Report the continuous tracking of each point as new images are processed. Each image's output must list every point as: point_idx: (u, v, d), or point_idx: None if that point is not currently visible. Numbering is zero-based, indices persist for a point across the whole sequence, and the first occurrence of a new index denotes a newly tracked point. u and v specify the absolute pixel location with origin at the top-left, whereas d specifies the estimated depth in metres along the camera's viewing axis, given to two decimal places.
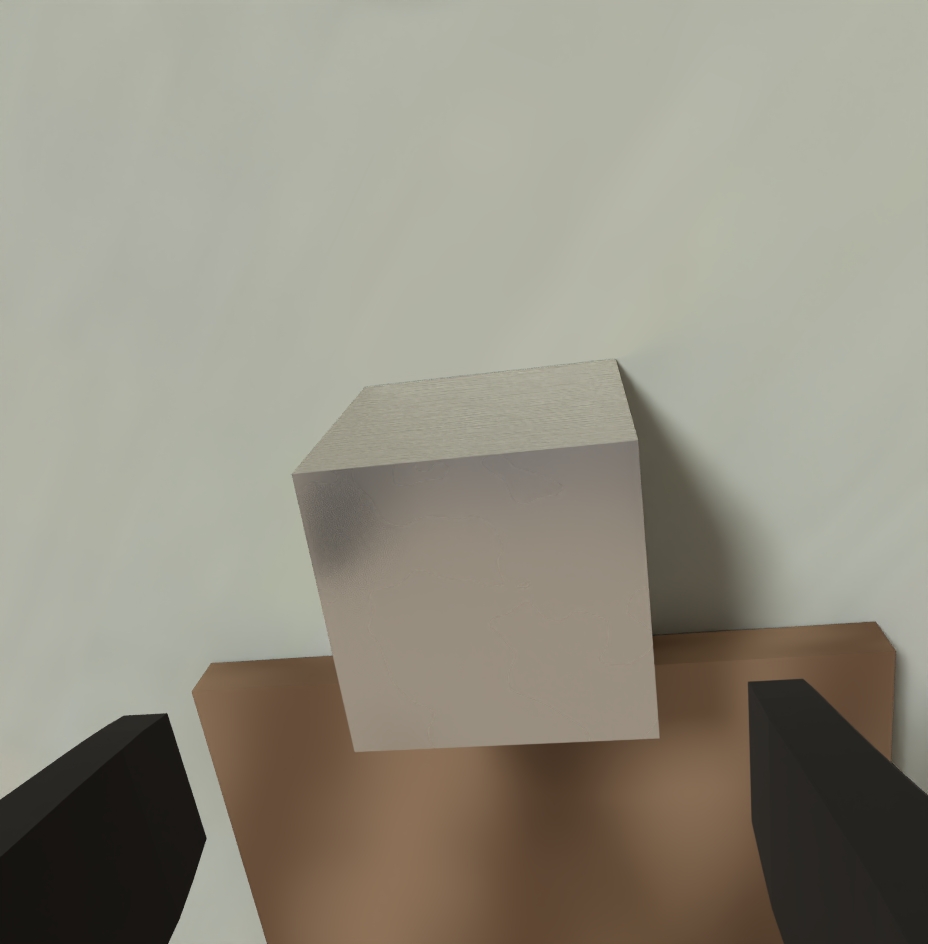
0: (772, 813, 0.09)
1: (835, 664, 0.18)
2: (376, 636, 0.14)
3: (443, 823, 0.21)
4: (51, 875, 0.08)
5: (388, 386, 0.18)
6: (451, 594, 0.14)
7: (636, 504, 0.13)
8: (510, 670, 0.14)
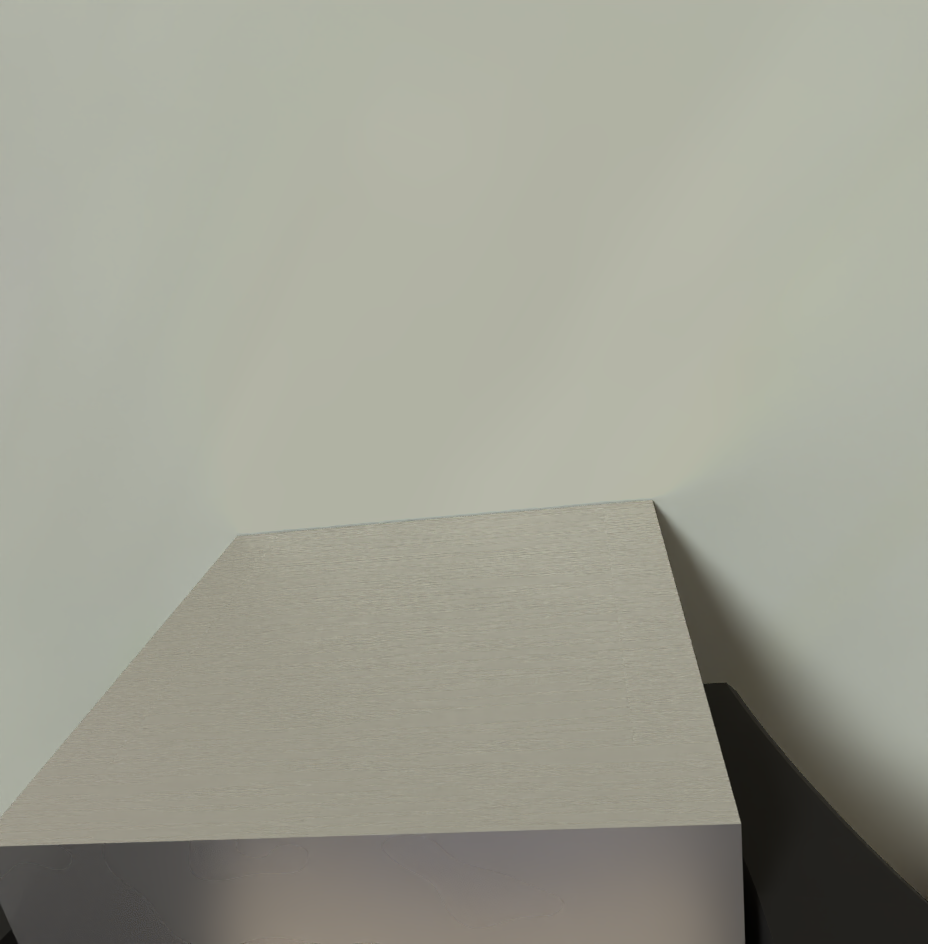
0: None
1: None
2: None
3: None
4: None
5: (273, 541, 0.11)
6: None
7: (730, 940, 0.06)
8: None
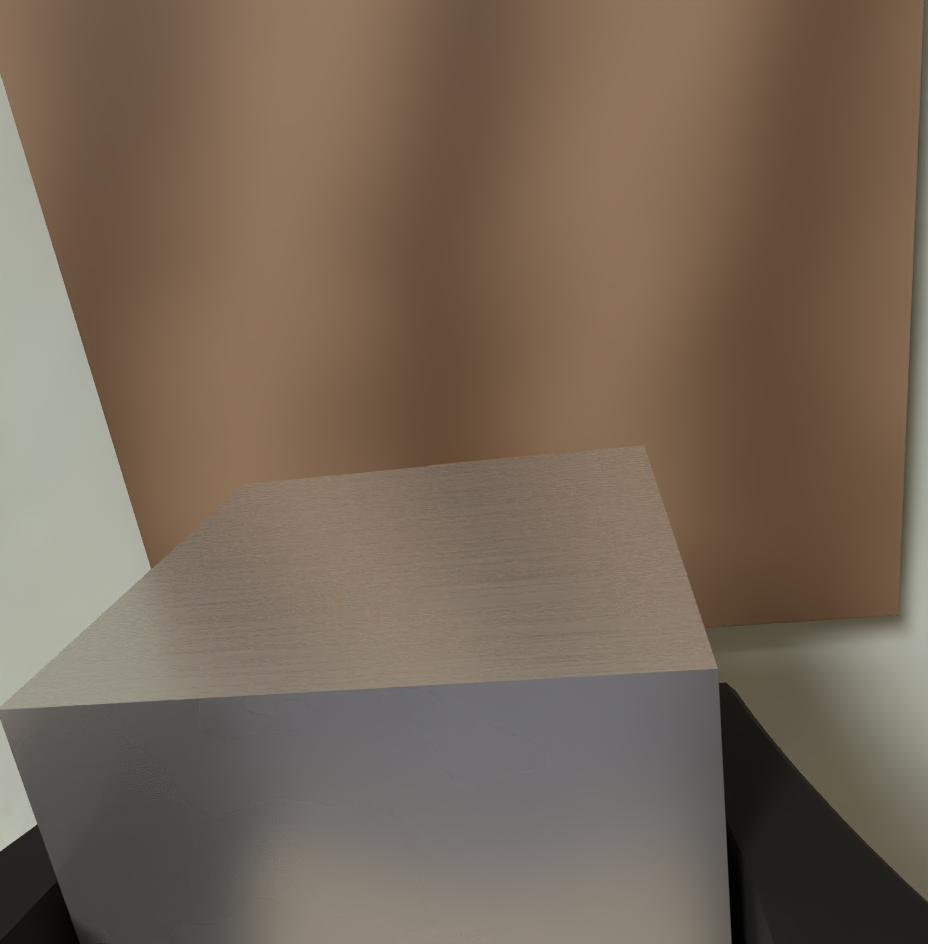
0: None
1: None
2: None
3: (322, 199, 0.15)
4: None
5: (279, 486, 0.11)
6: (330, 941, 0.07)
7: (709, 793, 0.06)
8: None
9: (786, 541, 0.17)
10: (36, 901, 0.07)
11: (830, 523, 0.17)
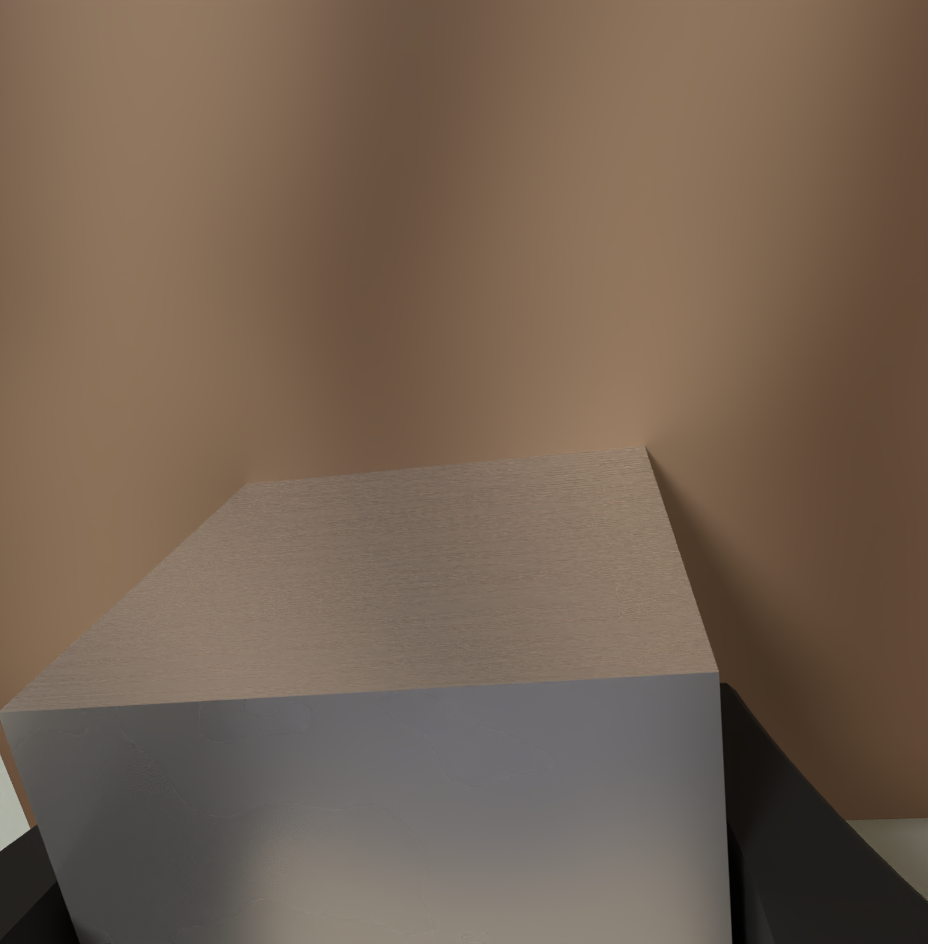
0: None
1: None
2: None
3: (198, 214, 0.10)
4: None
5: (280, 487, 0.11)
6: (333, 943, 0.07)
7: (711, 796, 0.06)
8: None
9: (889, 712, 0.12)
10: (36, 901, 0.07)
11: None
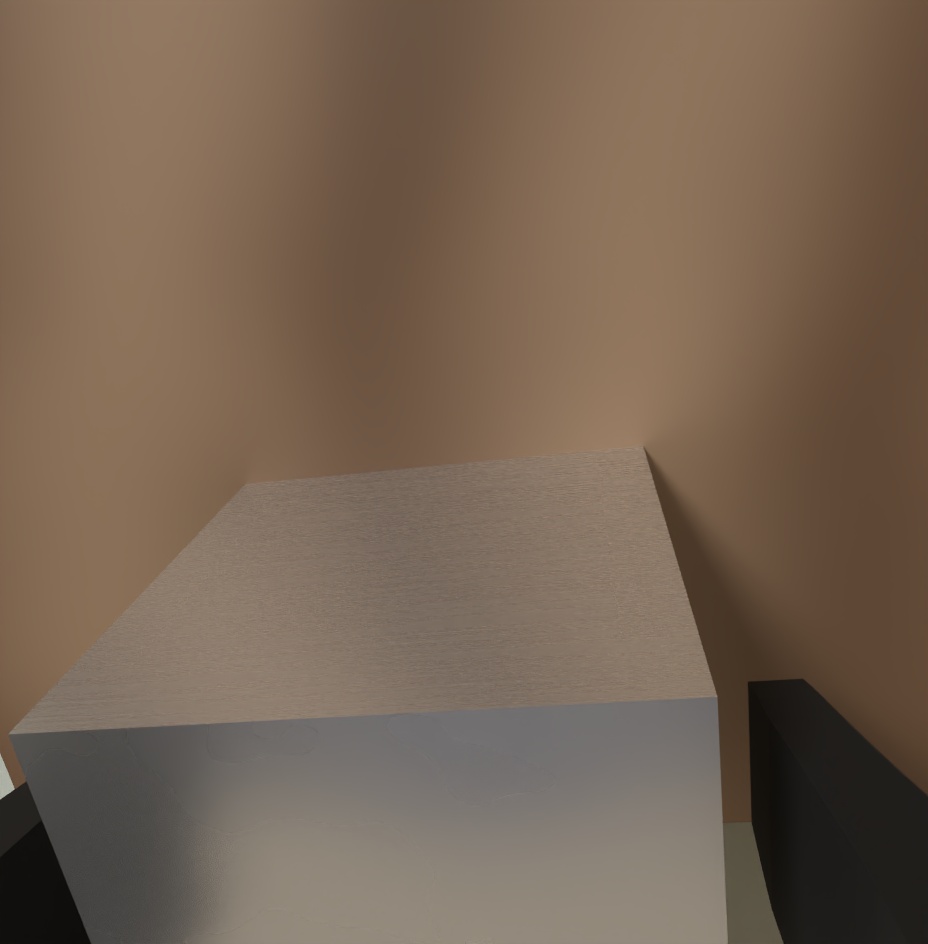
0: (772, 813, 0.09)
1: None
2: None
3: (198, 214, 0.10)
4: (51, 875, 0.08)
5: (280, 487, 0.11)
6: None
7: (709, 813, 0.06)
8: None
9: (887, 711, 0.12)
10: None
11: None
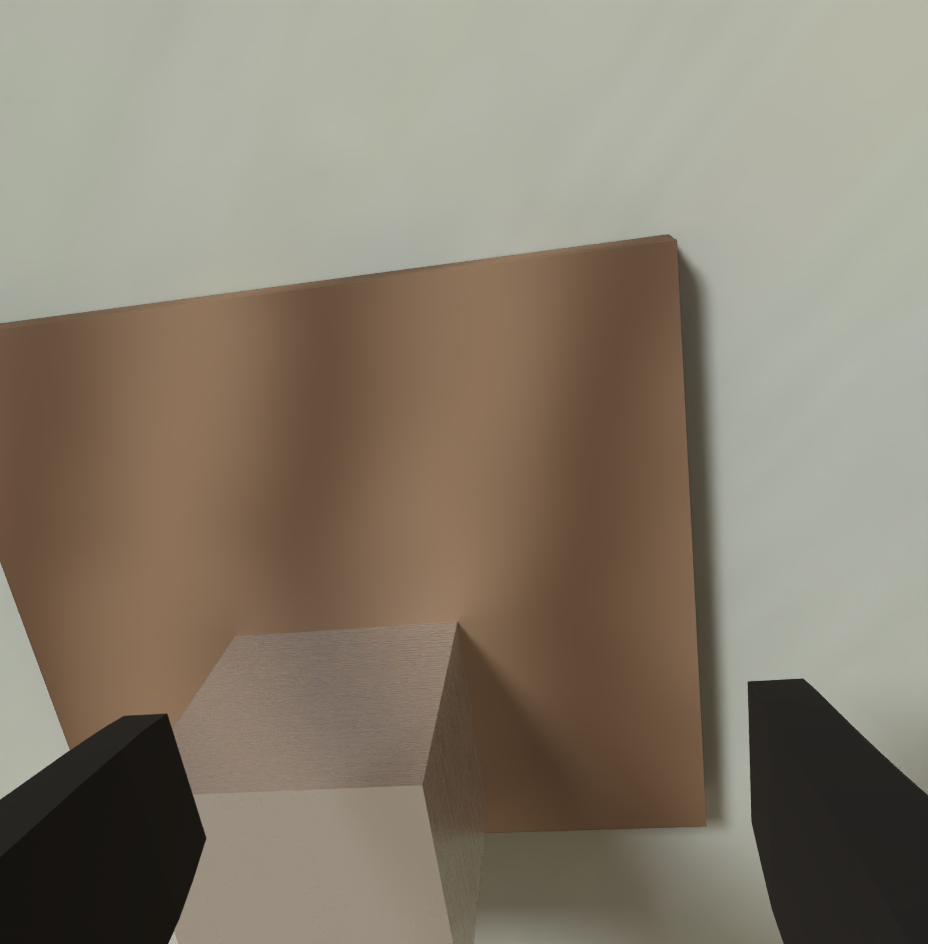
0: (772, 813, 0.09)
1: (612, 262, 0.16)
2: (212, 922, 0.16)
3: (208, 498, 0.18)
4: (51, 875, 0.08)
5: (254, 641, 0.19)
6: (274, 893, 0.15)
7: (426, 832, 0.14)
8: None
9: (609, 767, 0.20)
10: None
11: (644, 754, 0.20)
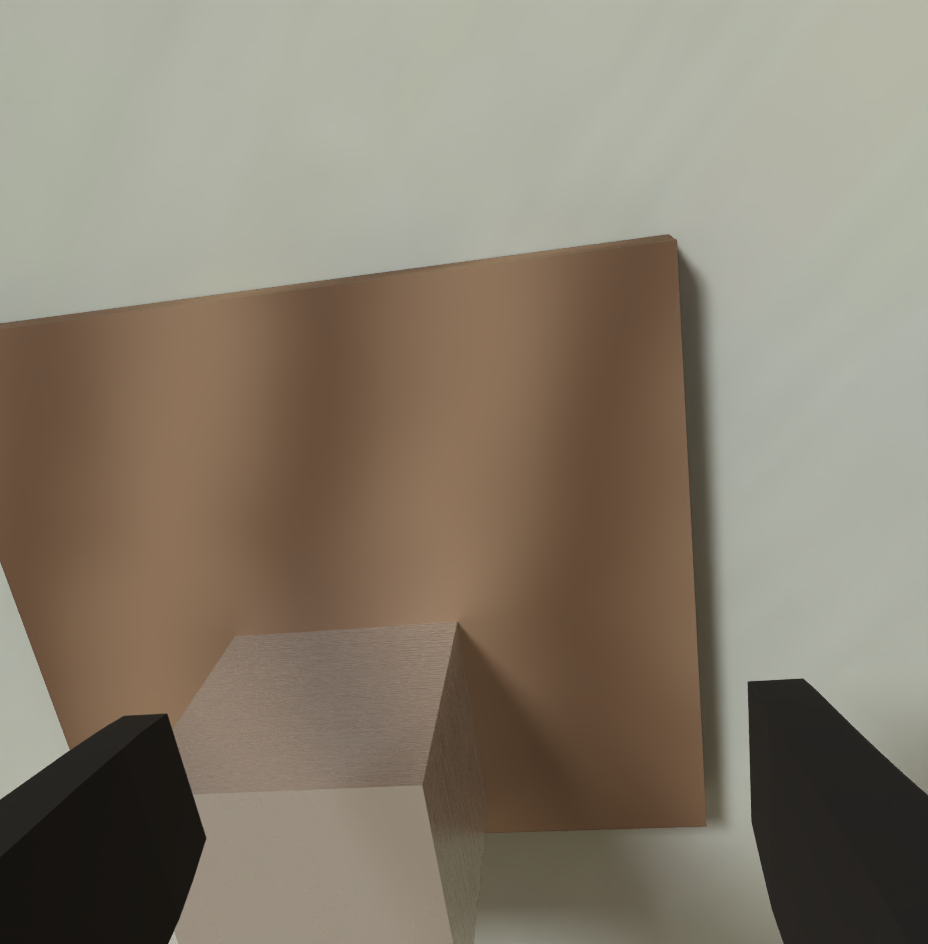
0: (772, 813, 0.09)
1: (612, 262, 0.16)
2: (212, 922, 0.16)
3: (208, 498, 0.18)
4: (51, 875, 0.08)
5: (254, 641, 0.19)
6: (274, 893, 0.15)
7: (426, 832, 0.14)
8: None
9: (609, 767, 0.20)
10: None
11: (644, 754, 0.20)
